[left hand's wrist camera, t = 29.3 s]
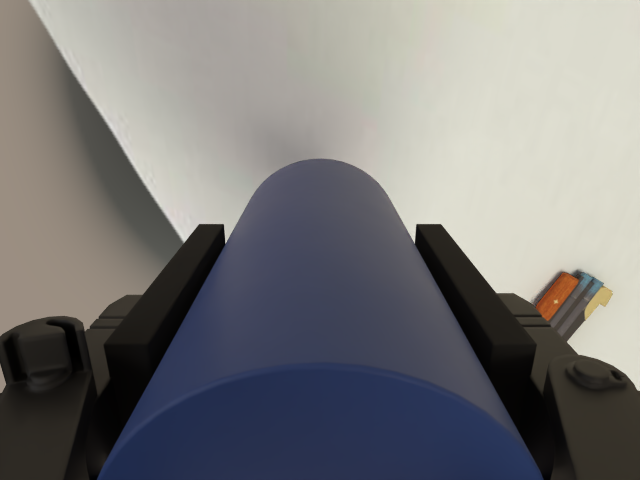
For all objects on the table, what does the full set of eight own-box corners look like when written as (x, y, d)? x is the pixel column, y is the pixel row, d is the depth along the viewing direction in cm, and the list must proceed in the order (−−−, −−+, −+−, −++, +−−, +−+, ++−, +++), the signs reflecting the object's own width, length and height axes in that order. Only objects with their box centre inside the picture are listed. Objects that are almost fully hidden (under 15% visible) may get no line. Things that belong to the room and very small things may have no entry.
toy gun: (392, 412, 40) (487, 465, 41) (520, 233, 36) (624, 295, 36) (390, 395, 43) (479, 445, 43) (508, 227, 38) (606, 284, 39)
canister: (403, 159, 16) (605, 368, 5) (392, 305, 18) (513, 698, 7) (238, 157, 16) (41, 361, 5) (245, 303, 18) (119, 694, 7)
